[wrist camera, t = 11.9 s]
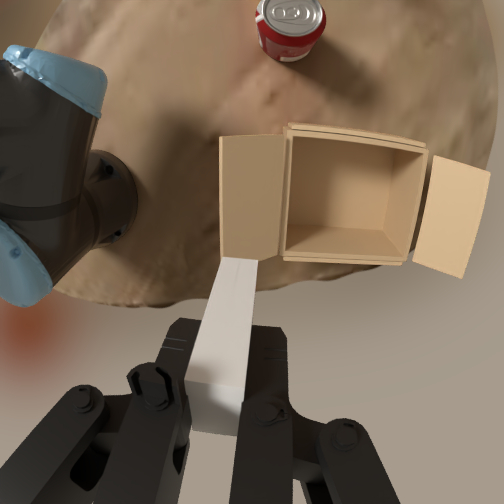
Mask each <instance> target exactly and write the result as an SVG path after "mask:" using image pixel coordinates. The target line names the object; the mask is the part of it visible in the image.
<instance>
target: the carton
mask: <svg viewBox="0 0 504 504" xmlns="http://www.w3.org/2000/svg"><path fill="white" fill-rule="evenodd" d="M283 135H284V153H283V172H282V189H281V206H280V222H279V237H278V240H279V256H283V260H284V261H305V262H327V263H349V264H372V265H398V266H401V265H402V263H403V262H405V261H407V257H408V253H409V250H410V246H411V242H412V238H413V233H414V229H415V225H416V220H417V216H418V211H419V206H420V201H421V196H422V190H423V185H424V179H425V172H426V166H427V159H428V151H429V149H426V148H425V146H426V143H423V142H419V141H416V140H412V139H409V138H405V137H401V136H396V135H390V134H384V133H378V132H372V131H366V130H359V129H352V128H344V127H336V126H327V125H317V124H306V123H293V122H288V126H283ZM423 147H424V148H423ZM402 261H403V262H402Z"/></svg>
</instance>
